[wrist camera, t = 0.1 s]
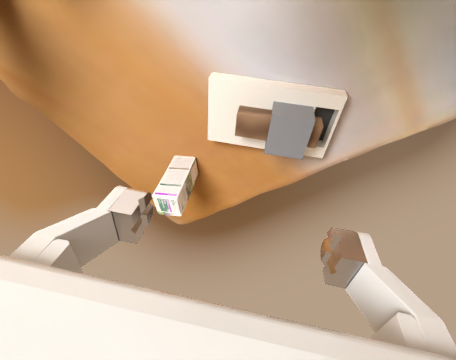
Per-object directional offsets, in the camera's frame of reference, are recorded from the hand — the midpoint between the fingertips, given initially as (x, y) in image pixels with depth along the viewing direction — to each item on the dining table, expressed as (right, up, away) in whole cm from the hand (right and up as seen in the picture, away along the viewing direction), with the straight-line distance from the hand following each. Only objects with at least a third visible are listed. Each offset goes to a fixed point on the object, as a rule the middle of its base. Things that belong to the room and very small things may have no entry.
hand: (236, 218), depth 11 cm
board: (+8, +15, +37) cm, 41 cm away
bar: (+9, +13, +35) cm, 39 cm away
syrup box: (-11, +6, +51) cm, 52 cm away
